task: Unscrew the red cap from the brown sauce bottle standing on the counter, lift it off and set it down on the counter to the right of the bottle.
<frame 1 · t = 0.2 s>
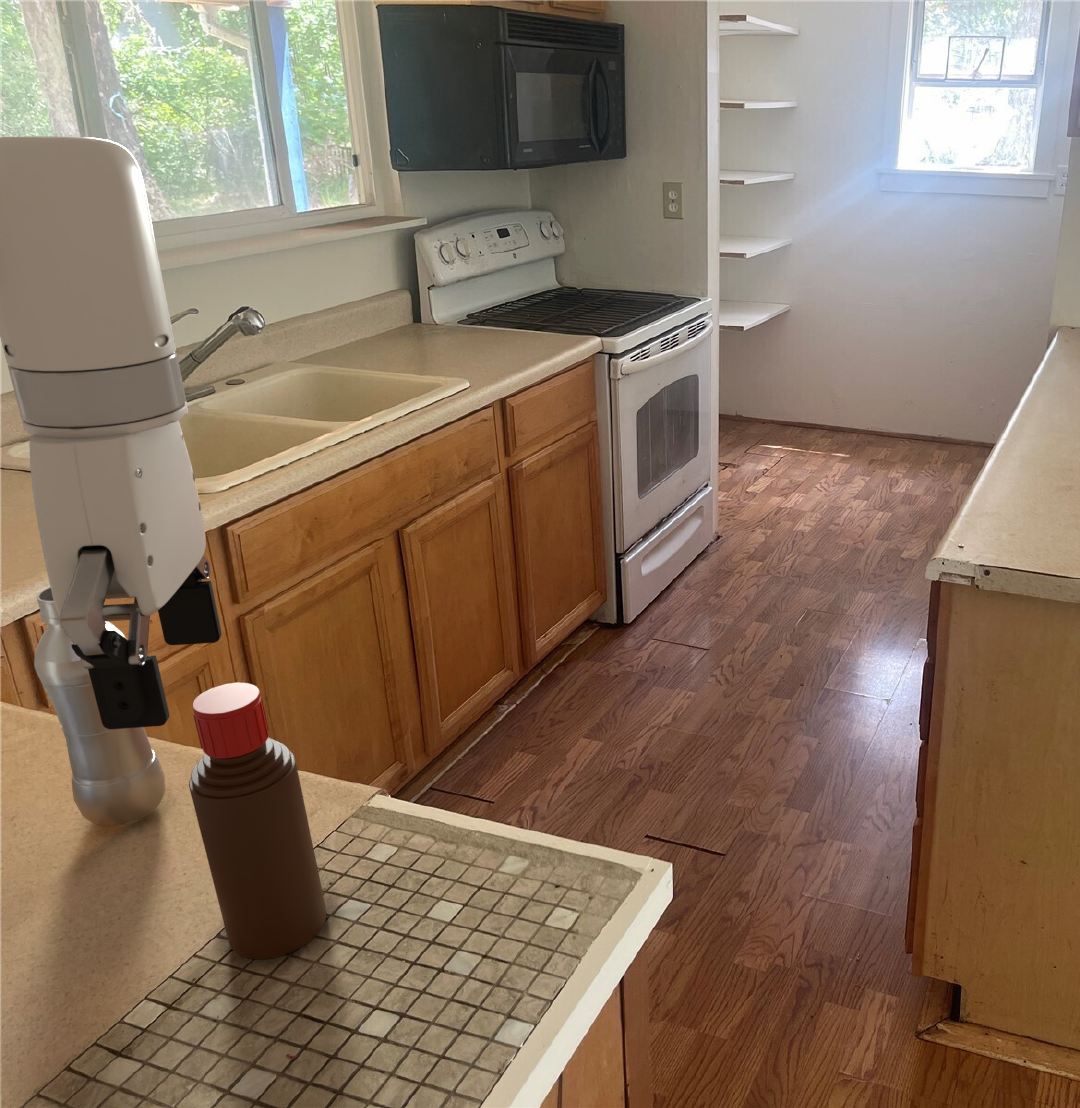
hand: (168, 680, 60), 22 cm above the countertop, tool pointing down, fingers open, 9 cm apart
cap: (227, 703, 66), point 18 cm above the countertop, screwed on, not yet turned
sauce bottle: (278, 926, 73), on the countertop
silver water bottle: (128, 814, 85), on the countertop
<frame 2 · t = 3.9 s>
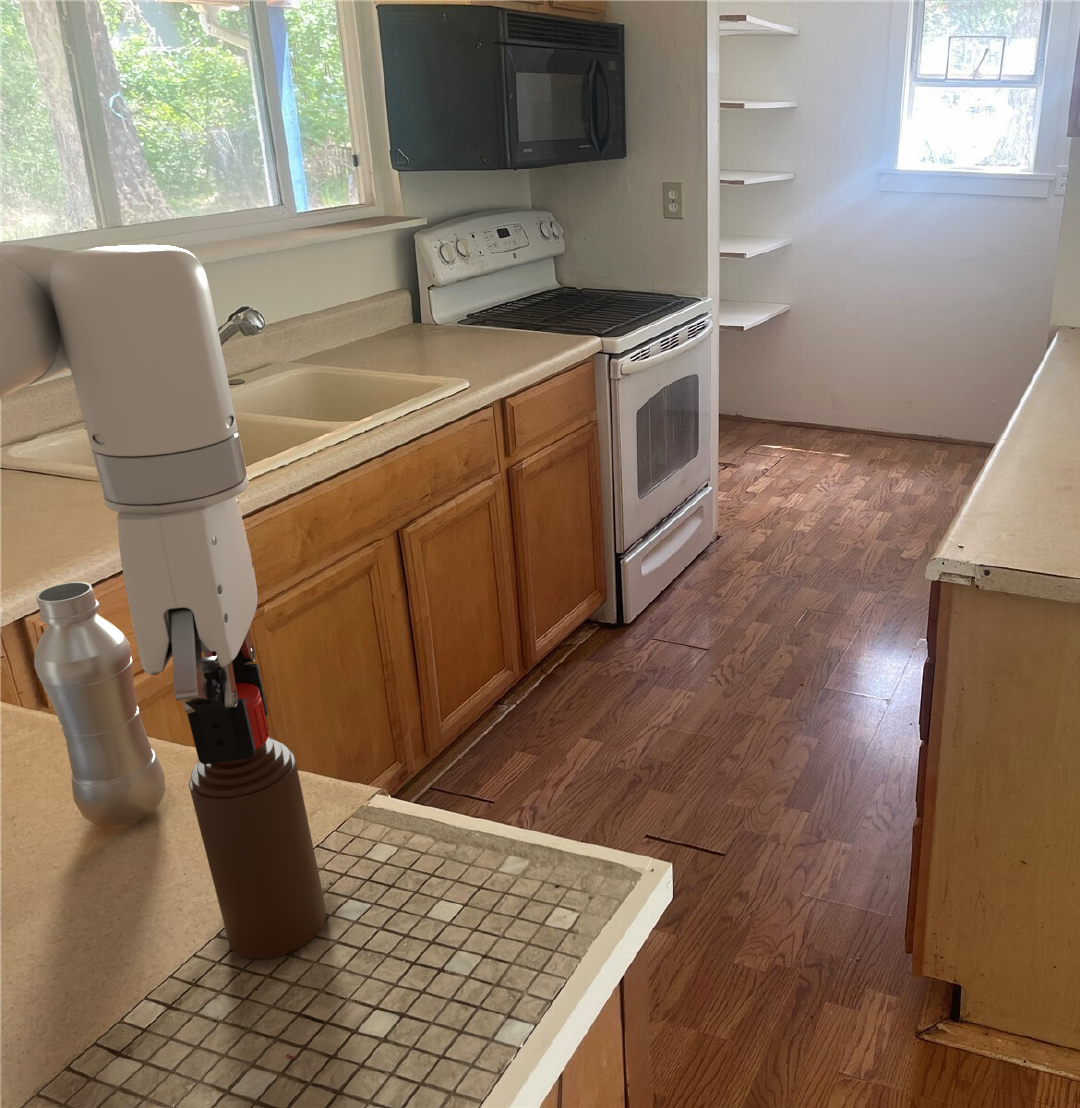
hand: (235, 736, 67), 16 cm above the countertop, tool pointing down, fingers closed on cap, 3 cm apart
cap: (227, 703, 66), point 18 cm above the countertop, screwed on, not yet turned, touching gripper
everything else where it was.
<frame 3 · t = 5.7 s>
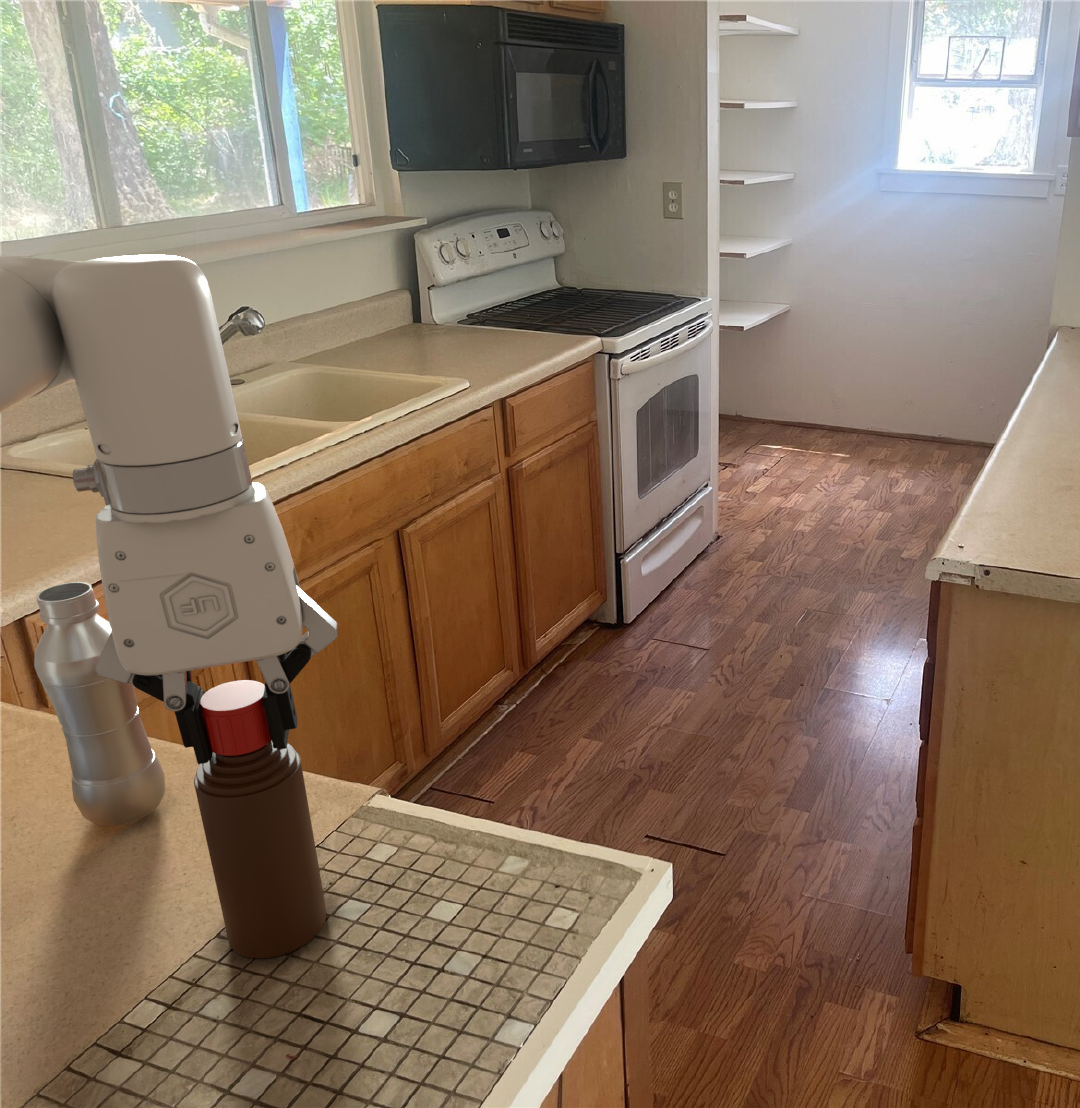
hand: (245, 742, 67), 15 cm above the countertop, tool pointing down, fingers closed on cap, 3 cm apart
cap: (234, 700, 66), point 18 cm above the countertop, turned 94° so far, risen 0.1 cm, still on its thread, touching gripper
everything else where it was.
when the fingers open (15 cm above the countertop, at t = 11.7 s): cap stays where it is, point 18 cm above the countertop.
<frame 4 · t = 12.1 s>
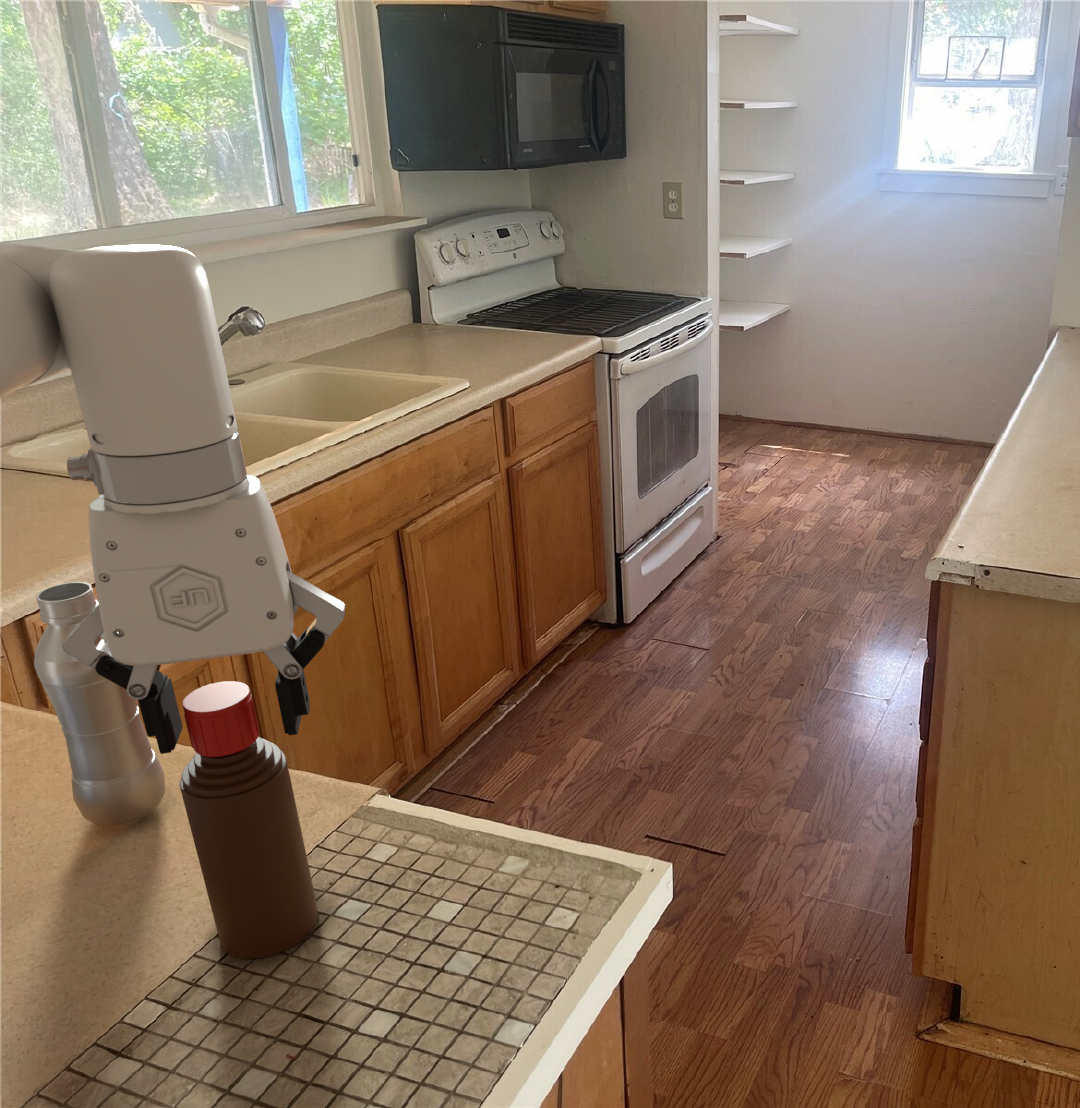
hand: (233, 731, 67), 16 cm above the countertop, tool pointing down, fingers open, 6 cm apart
cap: (217, 701, 66), point 18 cm above the countertop, turned 94° so far, risen 0.1 cm, still on its thread
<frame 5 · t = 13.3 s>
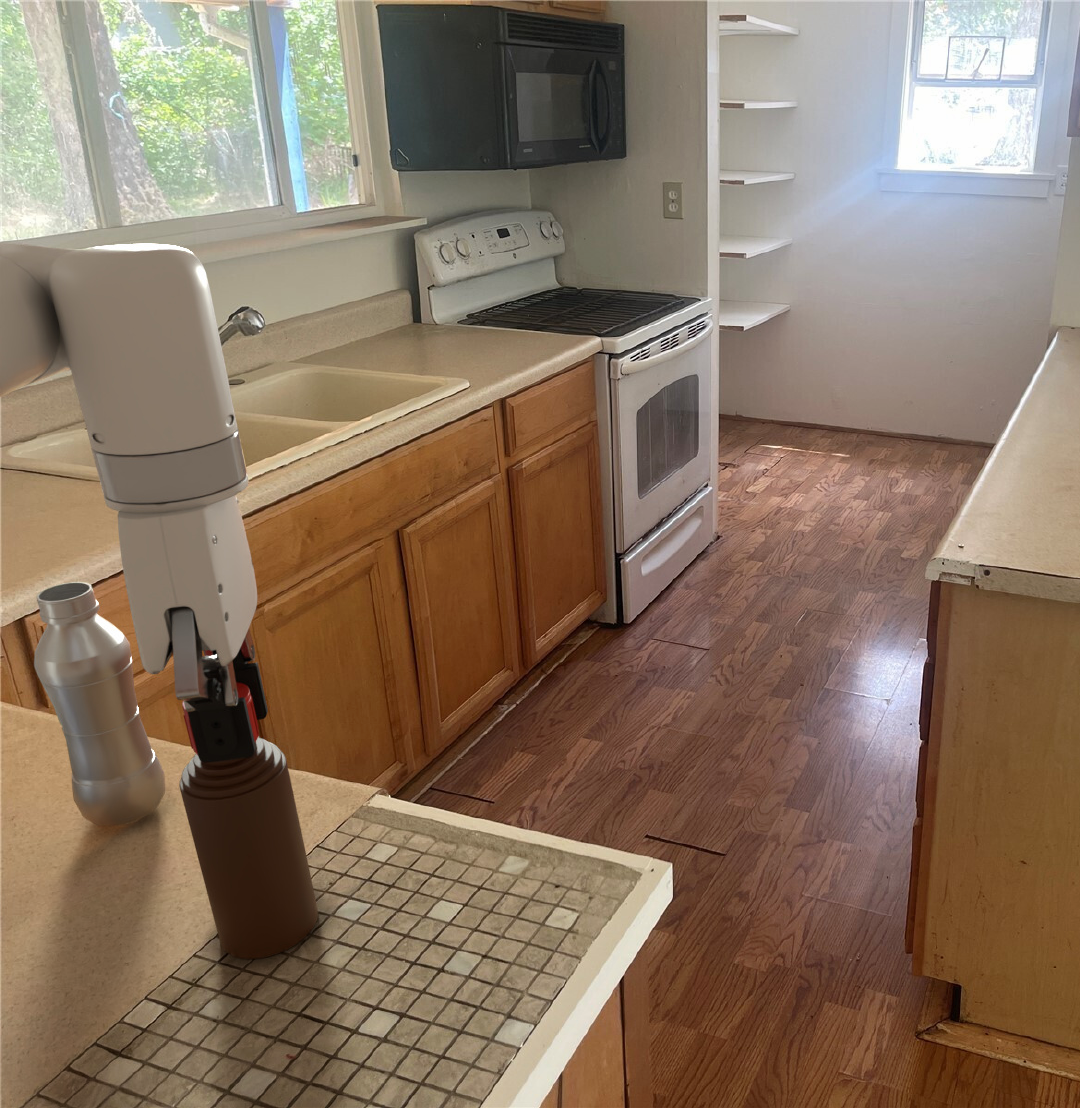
hand: (235, 735, 67), 16 cm above the countertop, tool pointing down, fingers closed on cap, 3 cm apart
cap: (217, 702, 66), point 18 cm above the countertop, turned 94° so far, risen 0.1 cm, still on its thread, touching gripper
everything else where it was.
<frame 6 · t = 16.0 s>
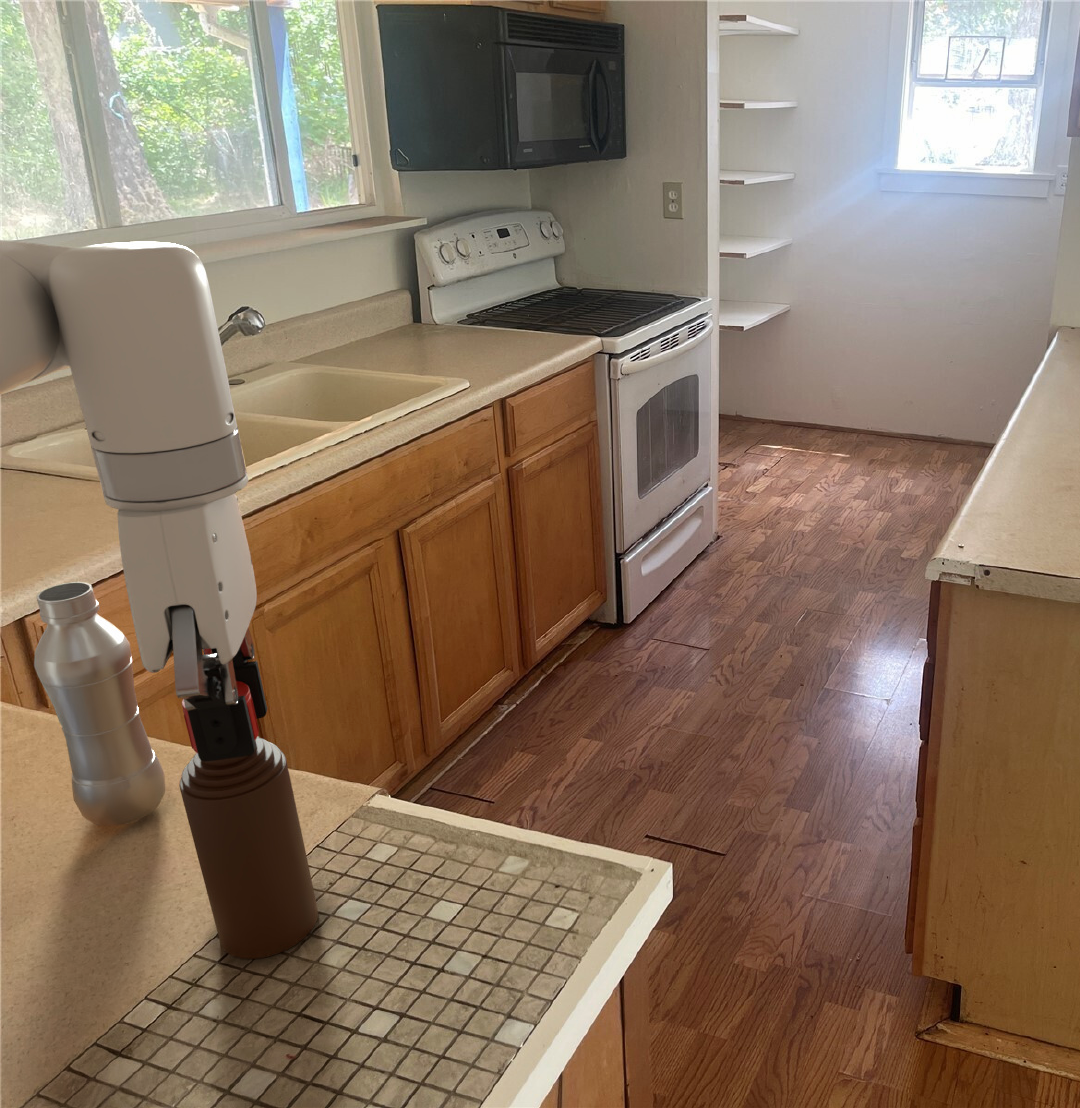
hand: (235, 734, 67), 16 cm above the countertop, tool pointing down, fingers closed on cap, 3 cm apart
cap: (217, 701, 66), point 18 cm above the countertop, turned 189° so far, risen 0.2 cm, still on its thread, touching gripper
everything else where it was.
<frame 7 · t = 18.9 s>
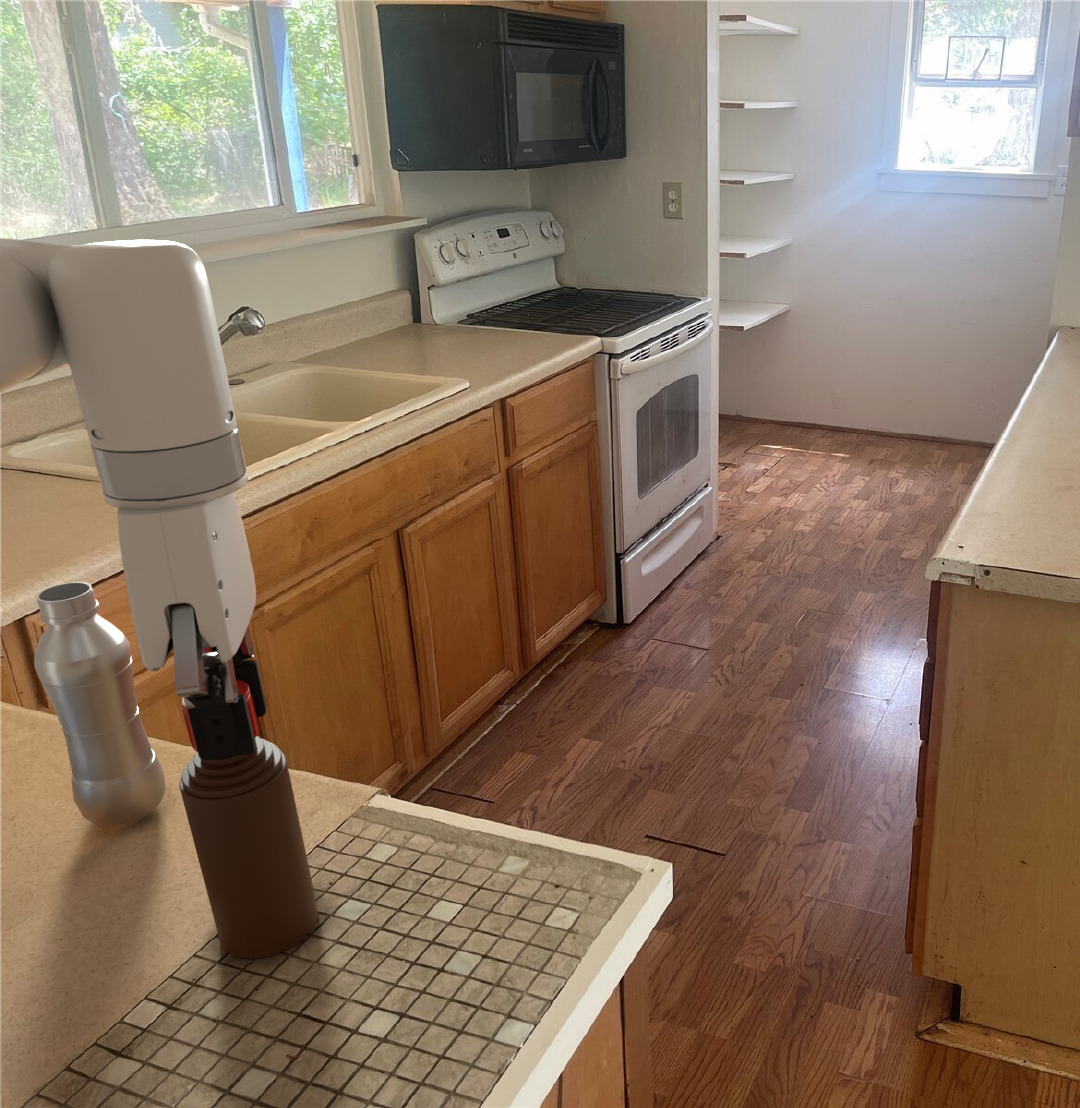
hand: (234, 733, 67), 16 cm above the countertop, tool pointing down, fingers closed on cap, 3 cm apart
cap: (216, 699, 66), point 18 cm above the countertop, turned 285° so far, risen 0.3 cm, still on its thread, touching gripper
everything else where it was.
when the fingers open (3 cm above the countertop, at t = 29.6 s): cap drops 2 cm, point 3 cm above the countertop.
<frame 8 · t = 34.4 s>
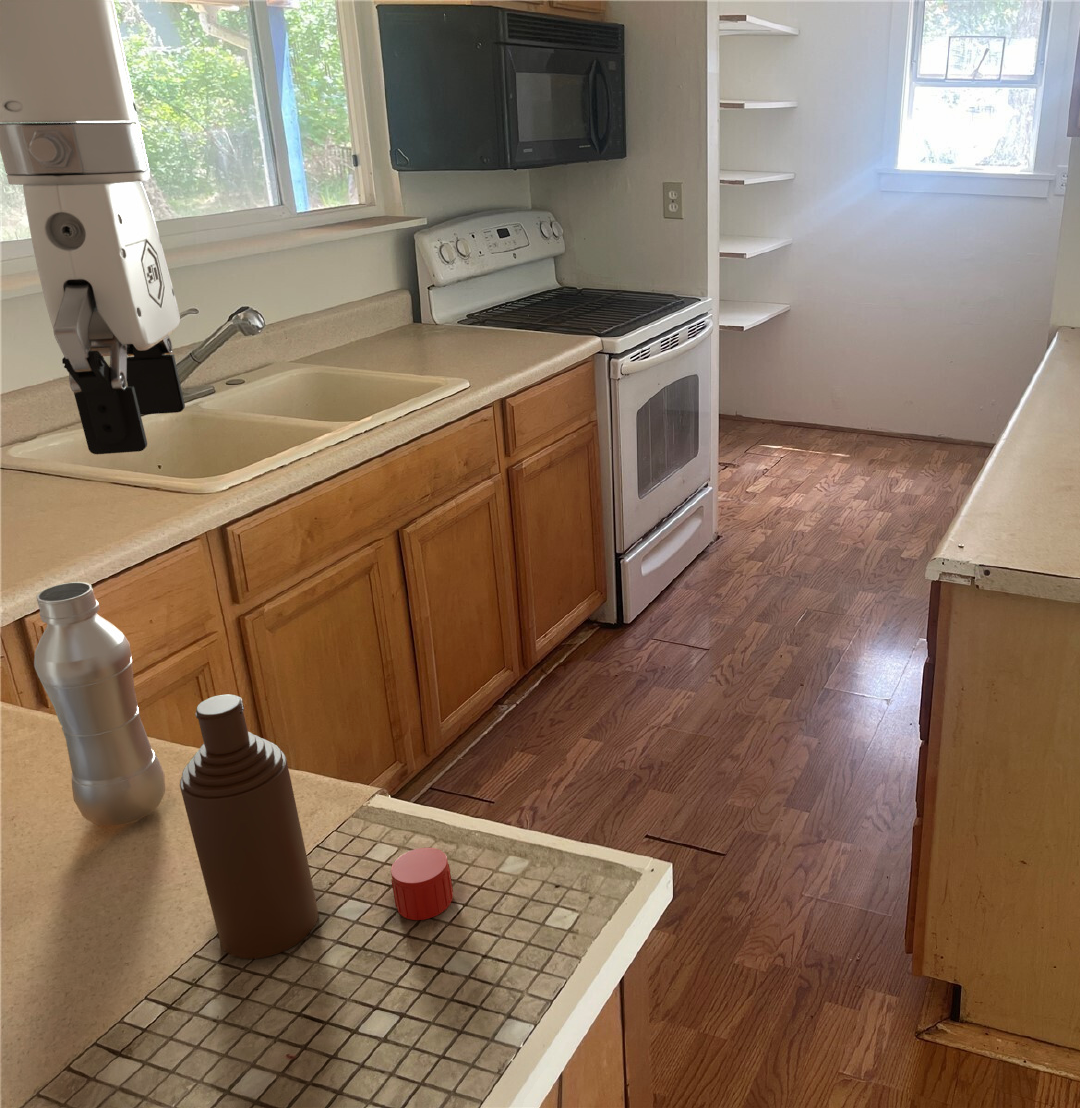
hand: (141, 430, 69), 33 cm above the countertop, tool pointing down, fingers open, 9 cm apart
cap: (420, 869, 74), point 3 cm above the countertop, off its thread
everything else where it was.
at the end: cap came off its thread; cap point 2.9 cm above the countertop; the gripper is holding nothing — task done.
